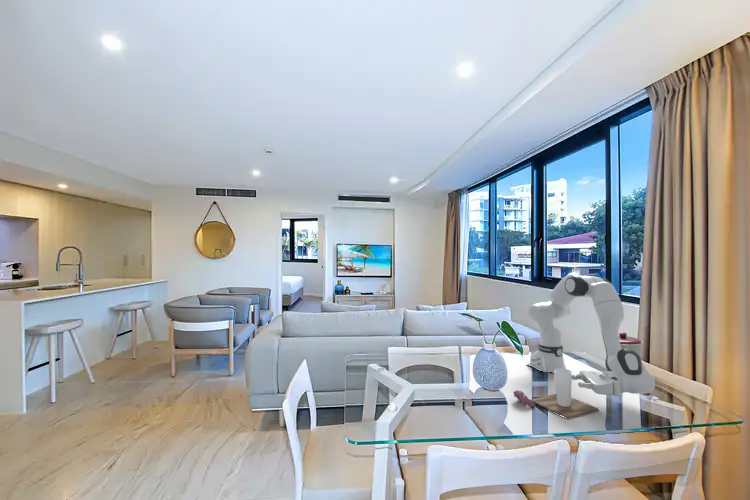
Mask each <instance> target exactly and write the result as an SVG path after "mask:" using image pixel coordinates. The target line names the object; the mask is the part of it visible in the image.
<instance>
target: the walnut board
mask: <svg viewBox="0 0 750 500" xmlns="http://www.w3.org/2000/svg"><path fill="white" fill-rule="evenodd" d="M530 400H531V401H532V402H534V403H537V404H538V405H540V406H542V407H544V408H546V409H547V411H548V410H550V411H549V412H551V411H552V412H551V413H553V412H555V413H557V414H559V415H562V416H564V417H566V418H570V419H572V418H571V417H573V418H577V417H580V416H581V417H582V416H584V415H585V416H586V415H588V414H591V413H595V412H600V411H599V410H600V409H599V407H597V406H594V405H591V404H589V403H587V402H584V401H581V400H579V399H577V398H574V397H571V406H570V407H562V406H559V405H558V404H557V395H556V393H552V394H549V395H545V396H540V397H536V398H531V399H530ZM538 405H537V406H538ZM540 406H539V407H540ZM542 407H541V408H542ZM544 408H543V409H544ZM546 409H545V410H546ZM555 413H554V414H555ZM557 414H556V415H557ZM559 415H558V416H559Z"/></svg>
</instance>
